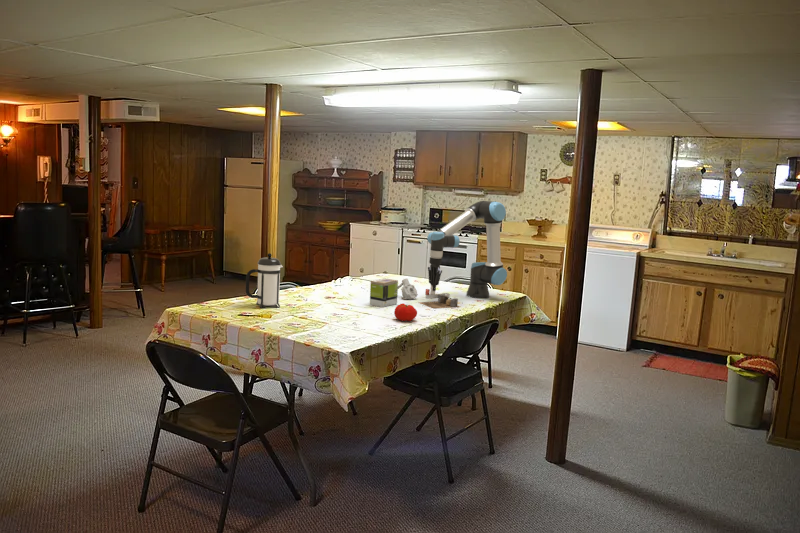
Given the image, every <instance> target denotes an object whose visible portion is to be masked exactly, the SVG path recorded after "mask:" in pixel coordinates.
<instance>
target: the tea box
mask: <svg viewBox="0 0 800 533" xmlns="http://www.w3.org/2000/svg"><path fill="white" fill-rule="evenodd" d="M369 285H370V286H369V287H370V288H369V289H370V291H369V305H370V306H375V307H379V308H383V307H389V306H392V305H398V291H399V289H398V286H399V281H398V280H397V279H391V278H380V279H375V280H371V281H370V284H369Z"/></svg>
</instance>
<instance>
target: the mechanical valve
mask: <svg viewBox="0 0 800 533" xmlns="http://www.w3.org/2000/svg"><path fill="white" fill-rule="evenodd" d="M400 288H401V289H400ZM399 289H400V290H401V295H402V297H403V298H404V299H405V300H410V301H412V300H414V299H415V298H417V296H418V295H419V293H418V290H417V289H416V287H415V285H414V284H411V283H410V281H409V279H408V278H403V279H402V280H401V283H400V284H398V290H399Z"/></svg>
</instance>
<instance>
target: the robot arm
mask: <svg viewBox="0 0 800 533" xmlns="http://www.w3.org/2000/svg"><path fill="white" fill-rule="evenodd" d="M506 213H507V210H506V207H505V206H504V204H503V203H501V202H499V201H490V200H480V201H479V200H478V201H477V202H475V203H473V204H471V205H469V206H468V207H467V208H465V210H464V211H463V213H461V214H460V215H458V216H457V217H455V218H454V219H452V220H451V221H450V222H449V223H447V224H445V225H444V226H443V227H441V228H440V229H438V230H437V231H432V232H429V233H428V235H427V243H429V244H430V252H429V256H430V257H429V261H428V263H429V264H430V265H429V266H428V267H427V271H428V272H427V273H428V284H430V292H429V294H436V290H437V286H439V284H440V280H441V276H442V273H443V270H441V265H442V262H443V254H444V248H451V249H453V248H454V249H455V248H457V247H459V245H460V242H461V239H460V237H459V236H458V235H455V234H456V233H457V232H458V231H460V230H462V229H463V228H464V227H465V226H467V225H469V224H470V223H471V222H475V221H477V220H479V219H480V220H481V219H483V224H484V225H485V226H486V228H485V229H486V258H487V259H486V261H487V262H486V261H483V262H482V261H479V262H478V261H475V262H472V263H471V266H470V275H469V276H470V279H469V286H468V288H467V291H466V296H467V297H469V296H470V298H475V297H476V298H477V299H486V298H487V299H489V297H490V292H489V287H488V284H490V285H493V286H501V285H502V284H503V283H505V281H506V280H507V277H508V271H507V270H506V269H505V268H504V263H503V262H502V261H501V260H502V259H501V254H502V253H501V224H502V223H503V220H504V219H505V217H506V215H507V214H506ZM476 298H475V299H476Z"/></svg>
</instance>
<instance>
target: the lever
mask: <svg viewBox="0 0 800 533" xmlns="http://www.w3.org/2000/svg"><path fill="white" fill-rule="evenodd" d="M430 291H431V288H430V289H429V288H426V289H425V299H426V300H430V299H431V300H432V299H438V300H437V301H438V303H444V298H448V299H450V297H451V295H450V293H448V292H442V293H435V294H430Z"/></svg>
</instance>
